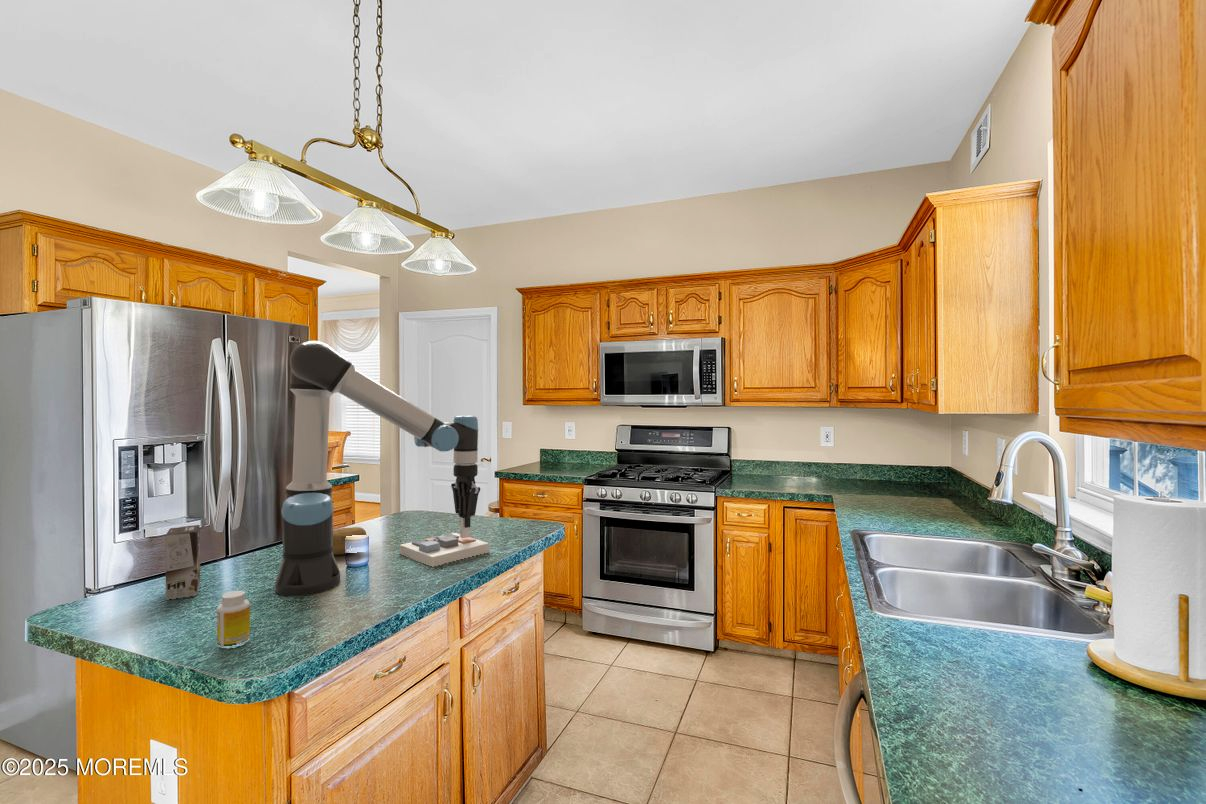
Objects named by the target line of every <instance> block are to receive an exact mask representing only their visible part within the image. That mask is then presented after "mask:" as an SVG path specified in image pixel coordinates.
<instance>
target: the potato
mask: <svg viewBox="0 0 1206 804" xmlns="http://www.w3.org/2000/svg"><path fill="white" fill-rule="evenodd" d="M352 535H366V536H367V532H366V530H365V529H364V528H363V527H360V526H355V527H354V526H353V527H340V528H337V529H336V528H335V529H333V555H334V556H344V555H346V554H345V538H346V536H352Z"/></svg>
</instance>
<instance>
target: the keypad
mask: <svg viewBox="0 0 1206 804" xmlns="http://www.w3.org/2000/svg"><path fill="white" fill-rule="evenodd" d="M449 536H451V537H455V538H458V539H461V537H460V533H457V532H451V533H447V534H442V535H438V536H434V537H433V536H432V537H428V538H424V539H420V540H414V541H411V542H406V543H402V544H399V555H400V554H401V555H400V556H403V555H404V556H403V557H405V556H406V557H405V558H408V557H409V558H408V559H410V558H411V559H410V560H413V559H414V560H413V561H415V560H416V562H418V561H419V562H418V563H420V562H421V563H420V564H423V563H424V564H423V565H425V564H426V565H425V566H428V565H429V566H428V567H430V566H432V567H431V568H435V567H434V566H436V567H438V566H437V565H440V566H442V565H441V564H444V563H447V564H449V563H448V562H451V563H453V562H452V561H455V562H457V561H456V560H459V561H461V560H460V559H463V560H465V559H464V558H466V559H469V558H468V557H470V558H473V557H472V556H474V557H477V556H476V555H478V556H481V555H485V554H488V552H489V553H490V543H489V542H487V541H483V540H480V539H476V538H473V537H472V536H470V538H473V539H476V541H474V542H470V543H466V544H462V543H459V542H458V546H453V547H449V548H443V547H440V550H437V551H433V552H429V553H425V552H422V551H420V550H419V543H422V542H426V541H431V540H433V541H436V542H438V539H440V538H444V537H449ZM484 553H485V554H484ZM480 554H481V555H480ZM444 565H445V564H444Z"/></svg>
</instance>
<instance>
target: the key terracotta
mask: <svg viewBox="0 0 1206 804" xmlns="http://www.w3.org/2000/svg"><path fill="white" fill-rule="evenodd" d="M470 537H471V536H470ZM470 537H466V538H461V539H458V542H459V543H462V544H466V543H470V542H474V541H476V538H474V539H473V537H471V538H470Z"/></svg>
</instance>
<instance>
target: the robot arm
mask: <svg viewBox="0 0 1206 804" xmlns="http://www.w3.org/2000/svg"><path fill="white" fill-rule="evenodd" d="M289 366H290V373H289V374H290V375H289V390H290V391H291V392H292V394H294V396H295V407H294V428H293V429H294V430H293V431H294V432H293V455H292V458H293V459H292V479H291V482H290V483H288V484H287V485H286V486H285V499H284V501H283V503H282V507H281V516H282V518H281V519H282V561H281V563H280V567H279V570H278V572H277V574H276V578H275V582H274V592H275V594H278V595H281V596H287V597H297V596H298V597H299V596H300V597H301V596H309V595H313V594H319V593H321V592H322V593H323V592H326V591H329V590H331V589H334V588H335V587H337V586H339V584H340V583H341V571H340V569H339V566H338V563H337V560H336V559H335V555H333V530H334V518H333V517H334V510H335V509H334V508H335V507H334V504H333V497H332V495H333V485H332V484H331V482H329V481H328V480H327V477H328V451H329V427H330V426H329V425H330V423H329V422H330V406H331V405H330V402H331V396H333V395H334V394H335V393H339V394H340V395H342V396H344V397H346V398H347V399H349V400H351V401H352V402H354V403H356V404H358V405H360V406H362V407H363V408H365V409H366V410H368V411H370V412H371V413H374V414H376V415H378V416H379V417H381V419H384V420H385V421H388V422H389V423H390V424H393V425H394V426H395V427H396V426H397V427H398V429H399V428H400V429H402V430H403V431H405V432H407V433H408V434H410V435H411V436H413V440H414V445H415V446H416V447H418V448H419V447H421V448H423V447H424V448H427V447H431V448H432V449H433V448H434V449H435V450H436V451H439V452H442V453H443V452H450V451H452V450H453V460H452V461H453V476H454V477H456V479H455V482H454V483H451V485H450V487H451V490H452V495H453V502H454V503H453V504H454V512H455V514H456V515H457V514H458V517H459V534H460V537H461V538H466V537H471V517H474V516H475V515H476V512H477V504H478V500H479V499H478V498H479V494H480V491H481V487H480V486H477V485H476V478H475V477H477V476H478V474H479V472H478V469H479V468H478V466H479V465H478V464H477V463H478V452H479V451H478V449H479V448H478V447H479V446H478V444H479V422H478V421H479V420H478V417H477V416H475V415H455V416H454V418H453V421H450V422H445V421H444V422H443V421H442V420H440V419H438V418H436V417H435V416H433V415H432V414H430V413H428V412H427V411H425V410H424V409H421V408H420V407H419V406H417V405H415V404H413V403H412V402H411V401H409V400H407V399H405V398H404V397H402V396H400V395H399V394H397V393H396V392H394V391H392V390H391V389H389V388H387V387H386V386H384V385H382V384H381V383H380V382H377V381H376V380H374V379H372V377H369V376H367V375H366V374H364V373H362V372H361V371H360V370H357V369H356V368H355V365H354V363H353V362H352V361H350V360H349V359H347V358H345V357H344V356H343V355H341V354H340V353H338V352H337V351H336V350H335V349H333V347H331V346H330V345H329V344H327V343H325V342H322V341H319V340H306V341H304V342H302V343H300V344H299V345H298V344H297V346H296V347H294V349H293V350H292V352H291V354H290V356H289Z"/></svg>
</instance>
